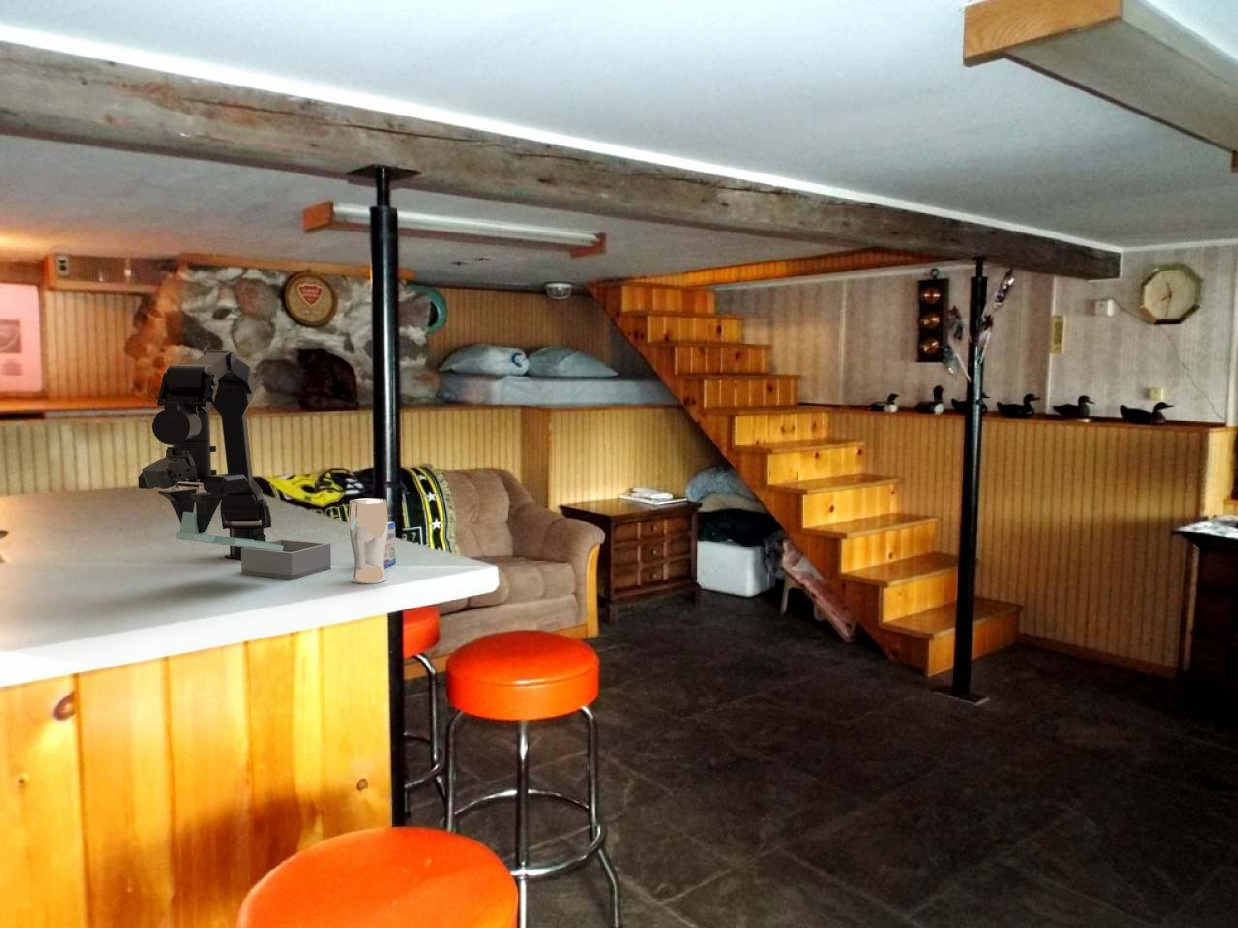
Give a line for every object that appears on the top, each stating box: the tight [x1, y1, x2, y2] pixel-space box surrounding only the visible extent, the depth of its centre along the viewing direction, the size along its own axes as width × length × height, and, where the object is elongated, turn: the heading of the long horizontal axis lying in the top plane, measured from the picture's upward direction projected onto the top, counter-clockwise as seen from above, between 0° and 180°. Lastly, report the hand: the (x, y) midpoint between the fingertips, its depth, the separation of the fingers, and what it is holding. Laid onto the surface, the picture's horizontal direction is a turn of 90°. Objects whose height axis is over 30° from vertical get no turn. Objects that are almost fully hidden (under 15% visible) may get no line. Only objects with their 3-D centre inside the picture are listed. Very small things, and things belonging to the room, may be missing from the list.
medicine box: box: [383, 521, 397, 569], centre depth 184 cm, size 8×4×9 cm, turn 168°
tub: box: [240, 538, 332, 581], centre depth 178 cm, size 12×11×5 cm
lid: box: [175, 512, 283, 551], centre depth 163 cm, size 13×17×4 cm
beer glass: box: [348, 497, 389, 585], centre depth 171 cm, size 7×7×15 cm
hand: (194, 531), depth 156 cm, fingers closed on lid, 3 cm apart
